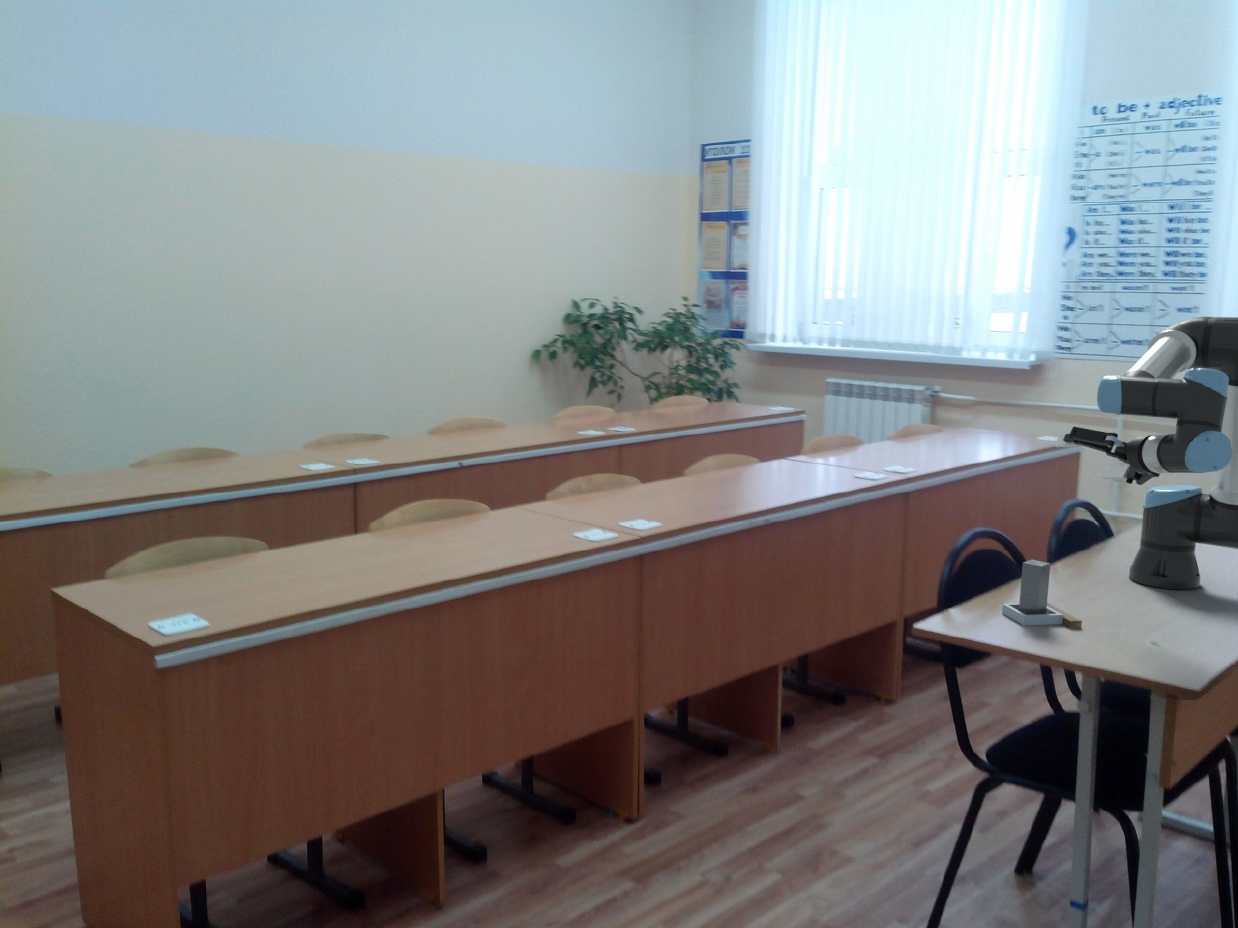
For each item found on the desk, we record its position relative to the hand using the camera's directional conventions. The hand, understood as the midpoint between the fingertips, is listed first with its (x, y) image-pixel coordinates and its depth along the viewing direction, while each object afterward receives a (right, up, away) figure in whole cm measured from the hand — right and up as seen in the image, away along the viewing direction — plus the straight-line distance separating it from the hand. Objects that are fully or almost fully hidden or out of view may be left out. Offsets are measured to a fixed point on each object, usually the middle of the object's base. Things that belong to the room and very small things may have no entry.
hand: (1081, 456), depth 227 cm
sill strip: (-8, -34, -5) cm, 35 cm away
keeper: (-13, -34, -6) cm, 37 cm away
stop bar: (-13, -34, -6) cm, 37 cm away
